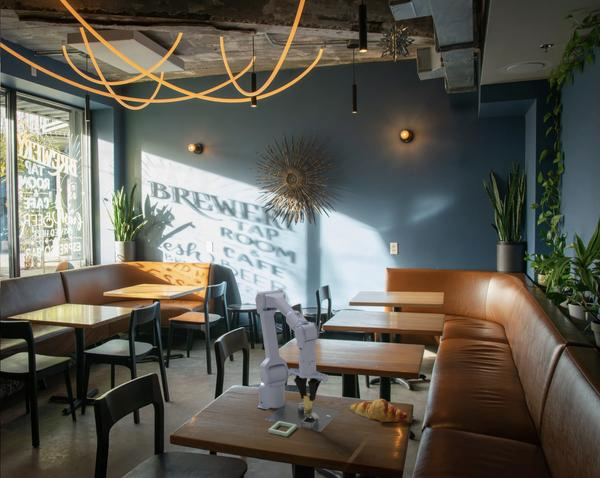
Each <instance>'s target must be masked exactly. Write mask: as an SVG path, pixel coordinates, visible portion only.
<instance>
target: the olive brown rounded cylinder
mask: <svg viewBox="0 0 600 478" xmlns="http://www.w3.org/2000/svg"><path fill="white" fill-rule="evenodd" d="M302 400H303V401H302V402H303V404H304V413H305V414H311V413H312V412H313V411H312V406H313V401H310V392H306V394H304V395H303V399H302Z"/></svg>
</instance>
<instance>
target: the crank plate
mask: <svg viewBox="0 0 600 478" xmlns="http://www.w3.org/2000/svg"><path fill="white" fill-rule="evenodd" d="M298 403H299V402H296V401H290V400H288V401H285V405H284V406H282V407H280V408H276V410H274V411H273V412H272V413H270V414H269V415H268V416H267V417H265V418H263V421H266V422H267V421H268V422H272V423H275V424H276V423H277V422H278V421H282V422H286V423H291V424H296V425H297V428H299V429H304V430H305V429H306V430H311V431H313V432H319V433H321V432H322V431H323V430H324V429H325V428H327V426H328V425H329V424H331V422H332V421H333V420H334V419H335V418H336V417H337V416H338V415H339V414H340V413H341V412H342V410H338V409H333V408H327V407H322V406H317V405H312V411H313V412H314V413H315V414H317V415H318V416H319V419H313V418H312V417H311V416H310V415H309V414H305V413H304V412H298Z"/></svg>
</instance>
